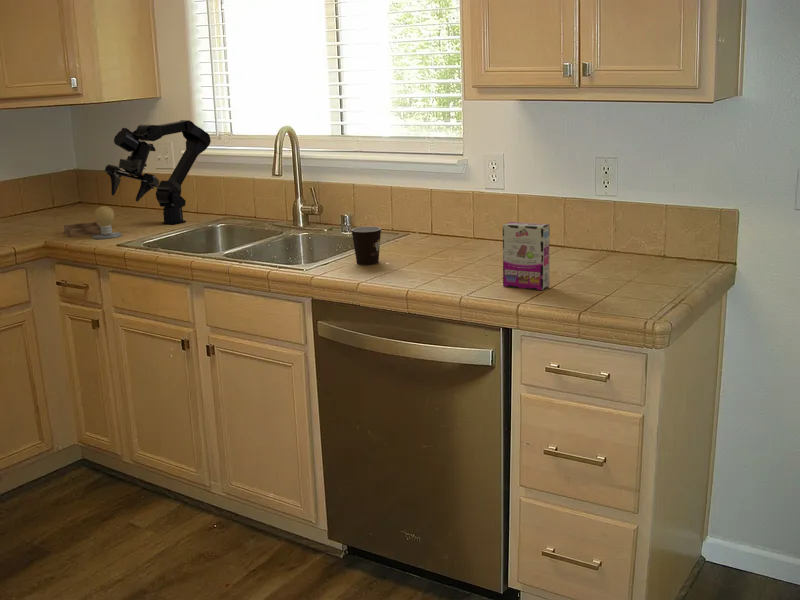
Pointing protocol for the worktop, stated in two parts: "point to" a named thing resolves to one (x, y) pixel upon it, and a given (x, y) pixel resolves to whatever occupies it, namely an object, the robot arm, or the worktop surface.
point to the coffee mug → (366, 244)
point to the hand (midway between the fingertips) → (124, 198)
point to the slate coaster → (112, 235)
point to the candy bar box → (526, 255)
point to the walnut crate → (82, 229)
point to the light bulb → (105, 219)
